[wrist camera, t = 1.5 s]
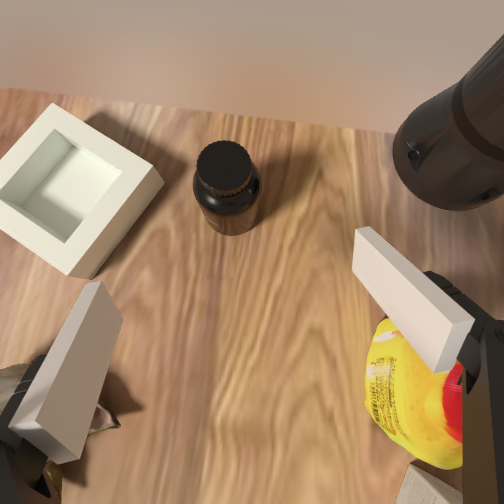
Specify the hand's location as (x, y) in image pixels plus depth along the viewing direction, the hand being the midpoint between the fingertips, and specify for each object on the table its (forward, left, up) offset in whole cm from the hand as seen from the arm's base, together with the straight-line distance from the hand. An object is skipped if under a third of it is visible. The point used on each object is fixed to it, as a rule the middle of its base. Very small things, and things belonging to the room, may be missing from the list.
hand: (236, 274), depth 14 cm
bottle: (-18, -2, -19) cm, 26 cm away
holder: (+24, +1, -19) cm, 31 cm away
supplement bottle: (+7, -8, -19) cm, 22 cm away
